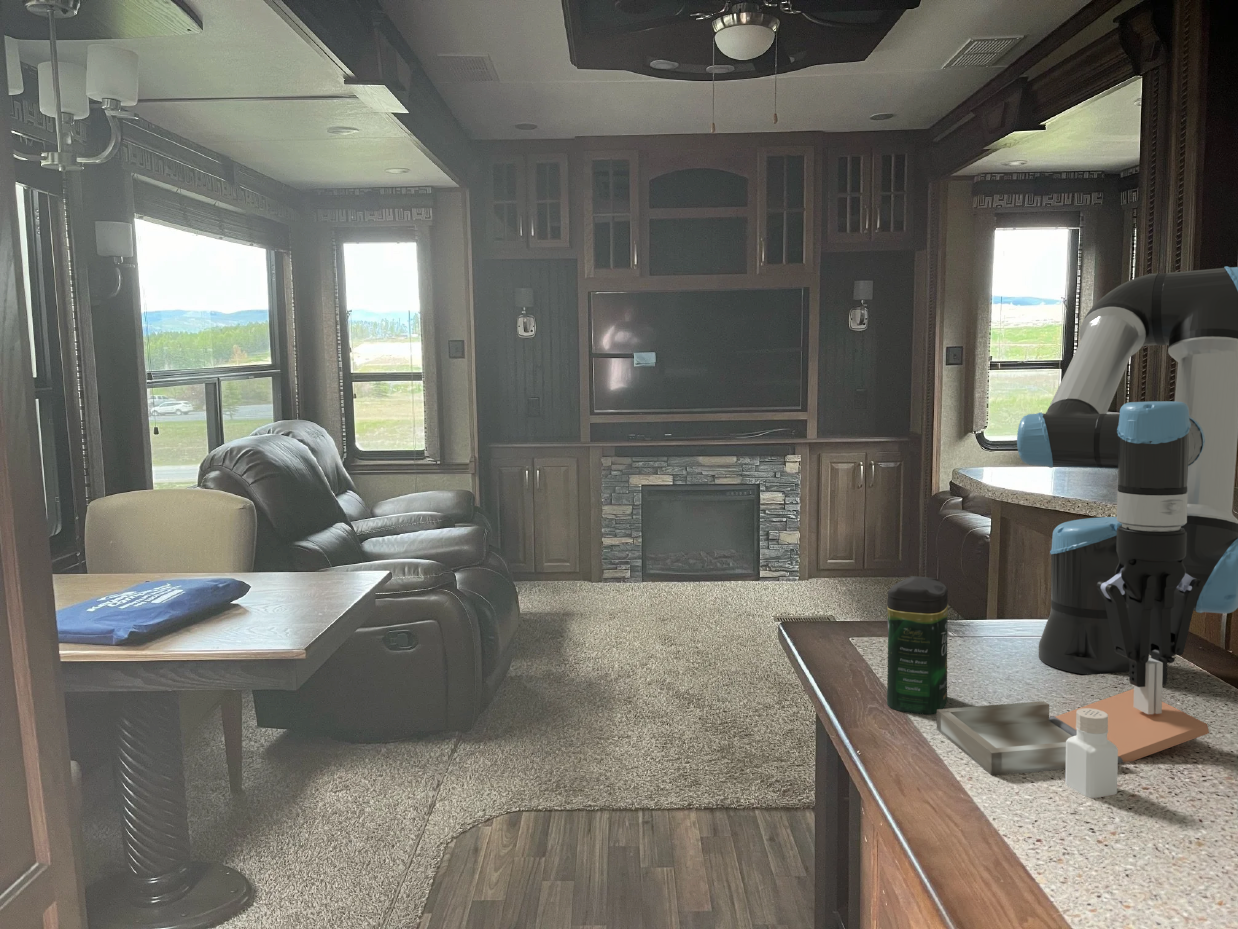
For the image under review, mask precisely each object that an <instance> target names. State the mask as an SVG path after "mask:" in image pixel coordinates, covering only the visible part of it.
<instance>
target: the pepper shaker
mask: <svg viewBox="0 0 1238 929" xmlns="http://www.w3.org/2000/svg"><path fill="white" fill-rule="evenodd" d="M1076 729H1077V735H1076V736H1073V737H1070V738H1068V739H1067V741H1066V769H1065V782H1064V783H1065V785H1066V786H1067V787H1069V789H1072V790H1074V791H1075V792H1077V793H1079V794H1080V795H1082V796H1084V797H1085V798H1089V799H1097V798H1102V797H1107V796H1112V795H1116V794H1117V793H1118V764H1119V763H1118V748H1117V747H1116V745H1114V744H1113V743H1112V742H1110V741H1109V740H1107V733H1108V714H1107V713H1105V712H1104V711H1101V710H1097V709H1091V708H1082V709H1079V710H1077V712H1076Z"/></svg>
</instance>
